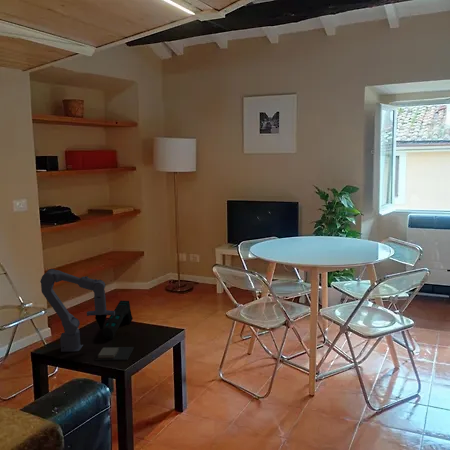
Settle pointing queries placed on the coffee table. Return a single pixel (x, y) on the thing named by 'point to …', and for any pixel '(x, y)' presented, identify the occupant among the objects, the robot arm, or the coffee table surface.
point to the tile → (108, 353)
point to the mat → (118, 354)
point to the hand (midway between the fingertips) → (101, 328)
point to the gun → (117, 319)
